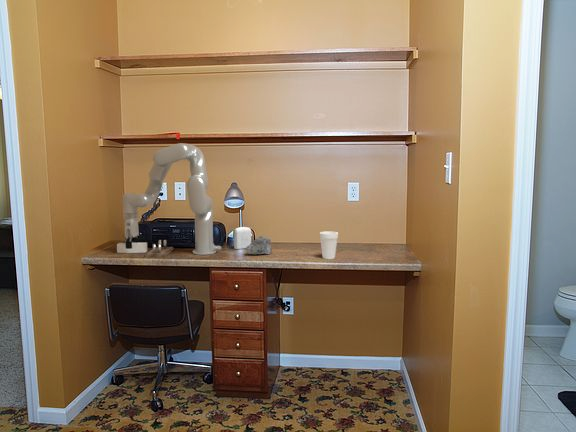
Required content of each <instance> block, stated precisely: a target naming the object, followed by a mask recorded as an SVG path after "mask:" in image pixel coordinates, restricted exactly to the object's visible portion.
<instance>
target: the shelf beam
mask: <svg viewBox="0 0 576 432" xmlns="http://www.w3.org/2000/svg"><path fill="white" fill-rule="evenodd" d="M116 251H117V254H127V253H128V254H133V253H135V254H136V253H137V254H139V253H141V254H143V253H145V254H146V253H148V242H137V243H132V249H126V242H118V243H117V244H116Z"/></svg>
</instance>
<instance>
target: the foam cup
mask: <svg viewBox="0 0 576 432" xmlns="http://www.w3.org/2000/svg"><path fill="white" fill-rule="evenodd" d="M338 238H339V232H338V231H328V230H327V231H326V230H325V231H320V232H319V239H320V247H321V255H322V259H326V260H333V259H335V258H336V253H337V246H338Z"/></svg>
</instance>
